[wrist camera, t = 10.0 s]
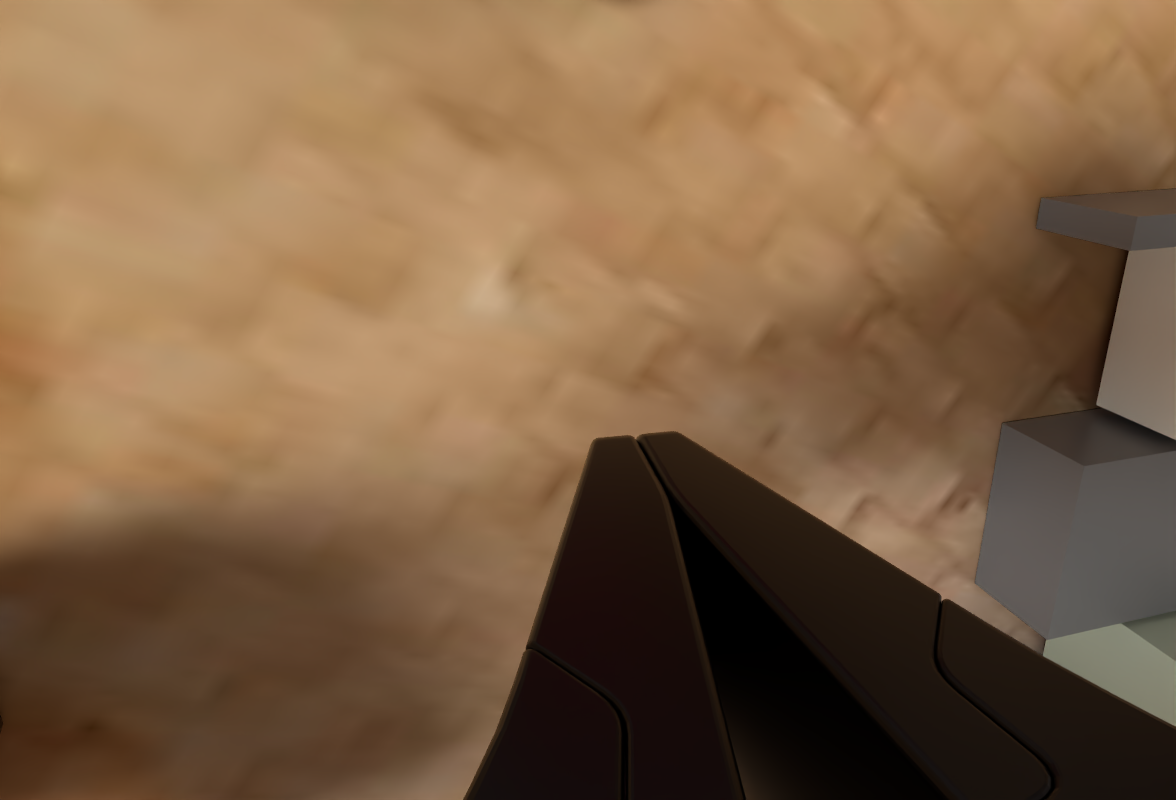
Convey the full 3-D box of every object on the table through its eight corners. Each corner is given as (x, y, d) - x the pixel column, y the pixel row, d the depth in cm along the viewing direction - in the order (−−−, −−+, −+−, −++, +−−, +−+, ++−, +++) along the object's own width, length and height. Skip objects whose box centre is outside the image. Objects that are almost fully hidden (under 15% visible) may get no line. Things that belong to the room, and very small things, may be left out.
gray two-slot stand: (946, 745, 30) (1010, 813, 27) (1041, 197, 23) (1137, 216, 21) (1148, 693, 32) (1225, 751, 30) (1287, 180, 26) (1402, 195, 23)
